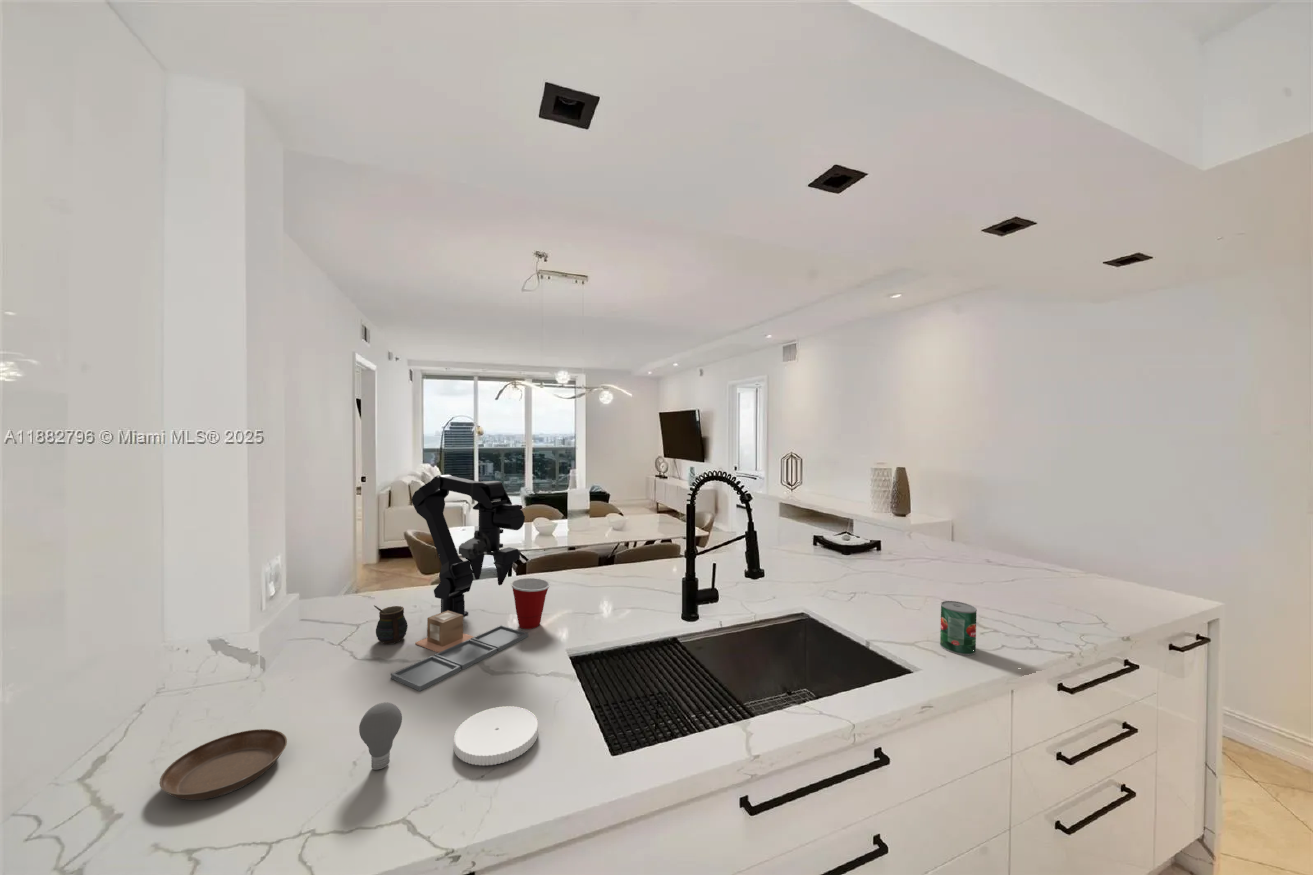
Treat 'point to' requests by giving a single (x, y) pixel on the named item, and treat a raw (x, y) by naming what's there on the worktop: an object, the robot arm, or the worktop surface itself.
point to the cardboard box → (444, 628)
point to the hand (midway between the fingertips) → (488, 582)
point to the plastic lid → (495, 735)
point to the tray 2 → (466, 653)
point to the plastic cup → (529, 600)
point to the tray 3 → (500, 637)
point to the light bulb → (380, 732)
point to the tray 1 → (425, 672)
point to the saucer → (223, 764)
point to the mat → (439, 648)
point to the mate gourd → (391, 625)
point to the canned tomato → (958, 627)
